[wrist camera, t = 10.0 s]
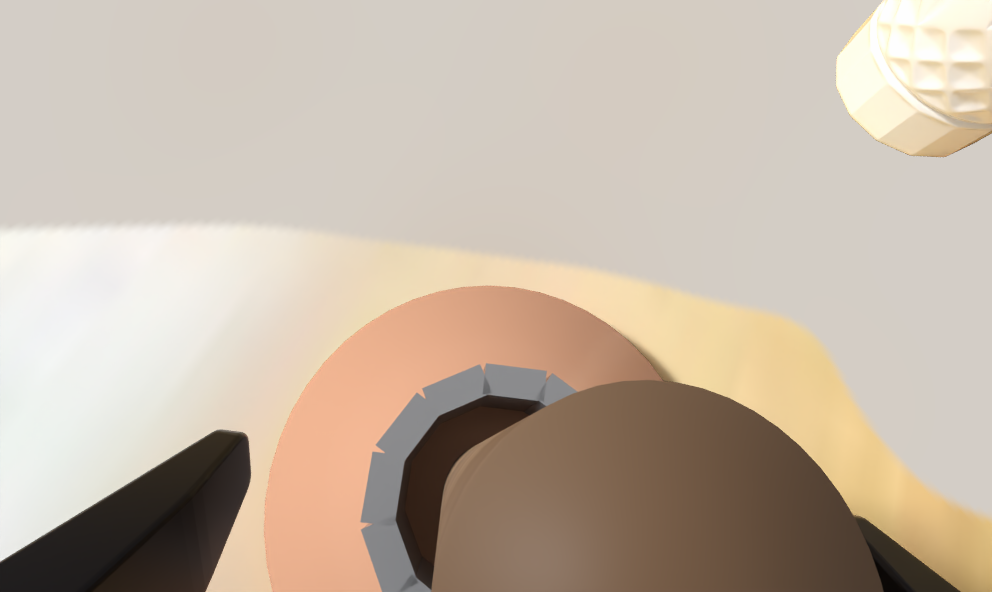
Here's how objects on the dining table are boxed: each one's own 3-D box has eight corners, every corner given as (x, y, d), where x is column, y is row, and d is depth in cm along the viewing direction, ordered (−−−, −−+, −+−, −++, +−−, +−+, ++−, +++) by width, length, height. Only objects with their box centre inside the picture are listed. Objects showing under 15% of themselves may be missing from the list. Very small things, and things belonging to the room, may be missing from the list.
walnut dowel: (559, 524, 16) (986, 765, 3) (463, 568, 15) (544, 1053, 3) (521, 427, 16) (750, 321, 4) (428, 465, 16) (363, 477, 3)
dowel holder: (757, 447, 18) (845, 443, 14) (540, 852, 14) (576, 1004, 10) (452, 227, 19) (454, 167, 15) (182, 544, 16) (92, 572, 12)
